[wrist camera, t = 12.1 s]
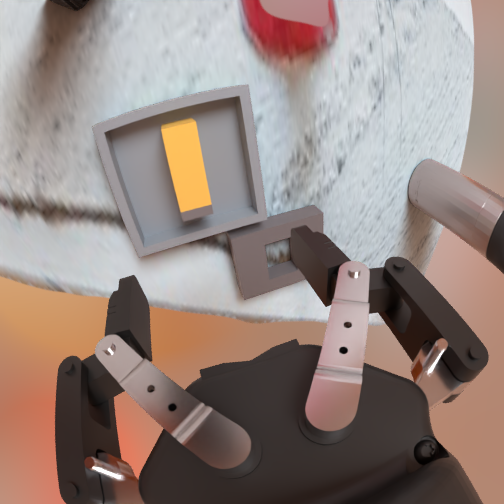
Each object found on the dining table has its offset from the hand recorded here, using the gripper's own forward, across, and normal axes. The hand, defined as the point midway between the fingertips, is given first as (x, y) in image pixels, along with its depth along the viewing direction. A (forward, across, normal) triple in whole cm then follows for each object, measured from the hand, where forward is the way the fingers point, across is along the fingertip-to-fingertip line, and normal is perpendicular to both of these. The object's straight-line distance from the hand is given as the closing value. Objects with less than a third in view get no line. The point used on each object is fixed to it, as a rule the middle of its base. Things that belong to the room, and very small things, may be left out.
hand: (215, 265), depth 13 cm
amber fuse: (+15, 0, -5) cm, 16 cm away
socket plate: (+18, -9, +14) cm, 25 cm away
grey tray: (+18, 0, 0) cm, 18 cm away
